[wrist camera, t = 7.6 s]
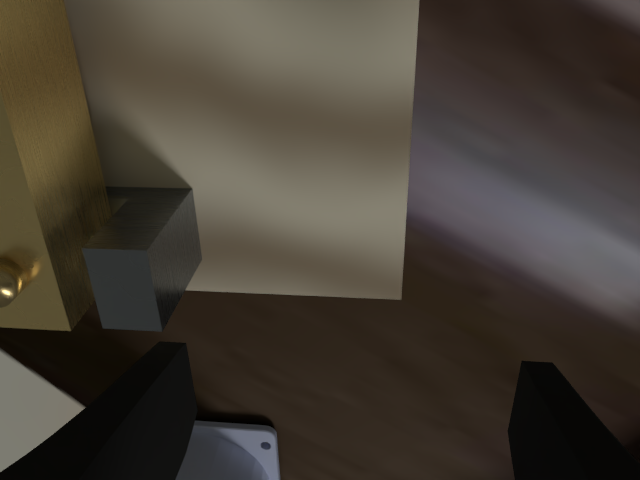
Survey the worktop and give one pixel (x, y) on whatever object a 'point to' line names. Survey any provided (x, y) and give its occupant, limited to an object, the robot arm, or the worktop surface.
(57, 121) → the master link
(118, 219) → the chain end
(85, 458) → the robot arm
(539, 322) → the worktop surface
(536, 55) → the worktop surface
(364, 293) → the jig board
